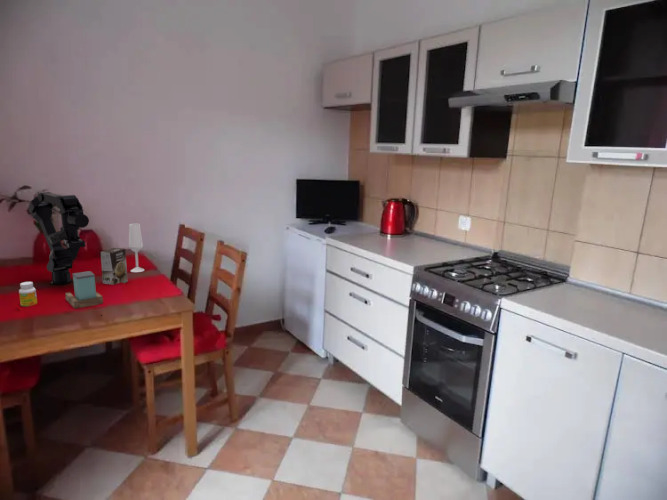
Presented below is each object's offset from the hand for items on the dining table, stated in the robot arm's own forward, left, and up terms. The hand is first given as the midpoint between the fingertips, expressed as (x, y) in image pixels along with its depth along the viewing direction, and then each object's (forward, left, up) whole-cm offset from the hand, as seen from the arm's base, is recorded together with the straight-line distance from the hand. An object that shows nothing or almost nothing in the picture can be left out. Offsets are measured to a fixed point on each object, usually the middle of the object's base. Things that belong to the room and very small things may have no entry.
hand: (73, 259), depth 191 cm
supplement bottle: (-3, -24, -13) cm, 28 cm away
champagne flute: (+12, +31, -13) cm, 36 cm away
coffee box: (+13, +9, -13) cm, 21 cm away
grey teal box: (+17, -19, -12) cm, 28 cm away
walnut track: (+16, -18, -13) cm, 27 cm away
